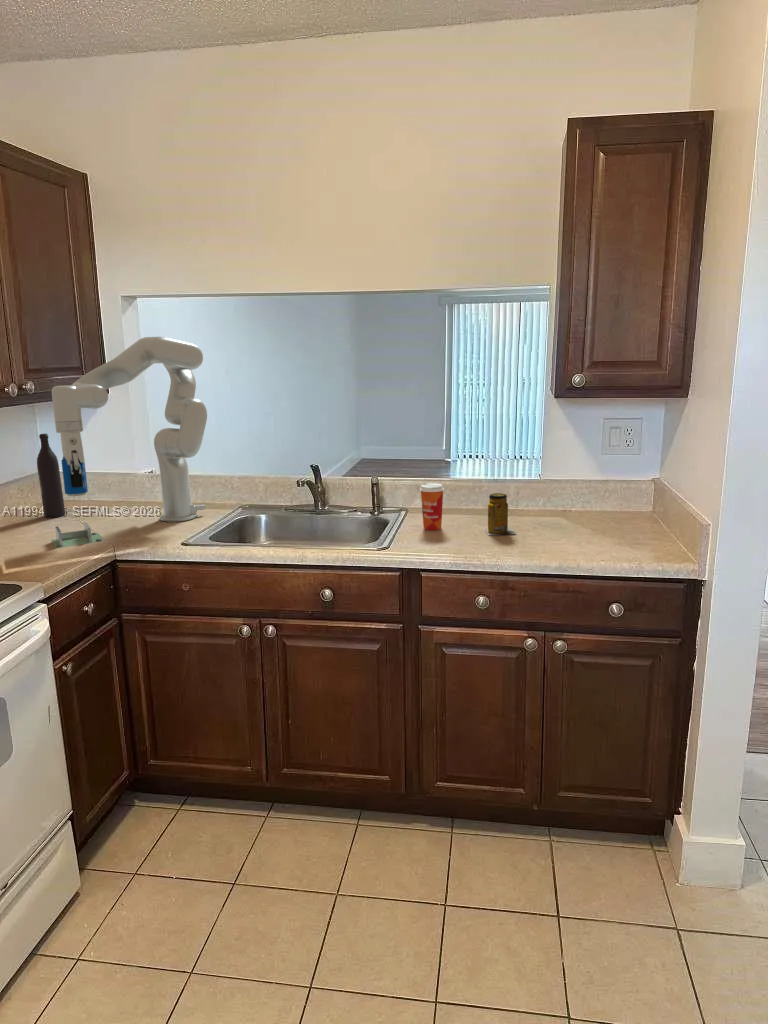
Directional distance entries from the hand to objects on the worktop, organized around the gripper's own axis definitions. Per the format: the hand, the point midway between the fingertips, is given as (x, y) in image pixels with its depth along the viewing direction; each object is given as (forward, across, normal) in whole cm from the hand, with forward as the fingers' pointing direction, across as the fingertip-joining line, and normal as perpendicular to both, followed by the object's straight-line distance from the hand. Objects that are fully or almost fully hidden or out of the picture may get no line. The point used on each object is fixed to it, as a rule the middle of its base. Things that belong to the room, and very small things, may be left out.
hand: (75, 484), depth 219 cm
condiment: (+17, -68, -112) cm, 132 cm away
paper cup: (+17, -52, -97) cm, 112 cm away
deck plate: (+18, 0, +1) cm, 18 cm away
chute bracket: (+17, 0, +2) cm, 18 cm away
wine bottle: (+18, +46, +2) cm, 49 cm away
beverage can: (+3, 0, 0) cm, 3 cm away
